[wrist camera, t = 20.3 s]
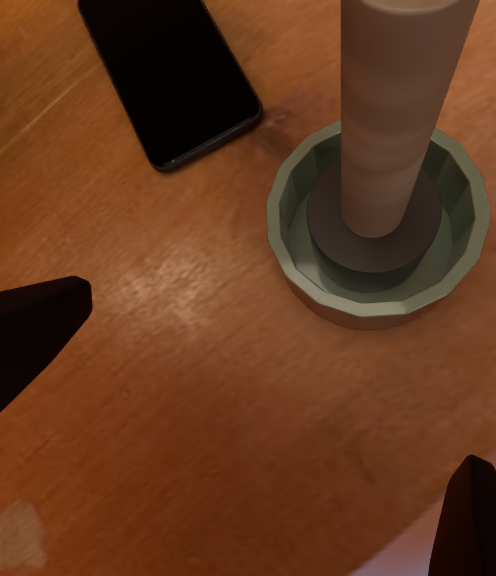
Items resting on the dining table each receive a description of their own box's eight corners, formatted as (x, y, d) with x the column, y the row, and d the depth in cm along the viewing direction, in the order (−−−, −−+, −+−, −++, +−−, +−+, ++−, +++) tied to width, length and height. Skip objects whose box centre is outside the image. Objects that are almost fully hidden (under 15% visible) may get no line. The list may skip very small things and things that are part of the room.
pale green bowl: (498, 279, 22) (536, 252, 18) (326, 360, 23) (323, 354, 19) (403, 132, 25) (416, 78, 20) (252, 210, 26) (234, 173, 21)
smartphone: (270, 120, 26) (172, -50, 31) (268, 112, 26) (167, -62, 30) (159, 181, 27) (77, 6, 31) (153, 175, 26) (70, -4, 30)
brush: (348, 313, 23) (361, 152, 7) (292, 223, 24) (208, -63, 9) (448, 256, 22) (681, -37, 7) (385, 169, 24) (463, -226, 9)
